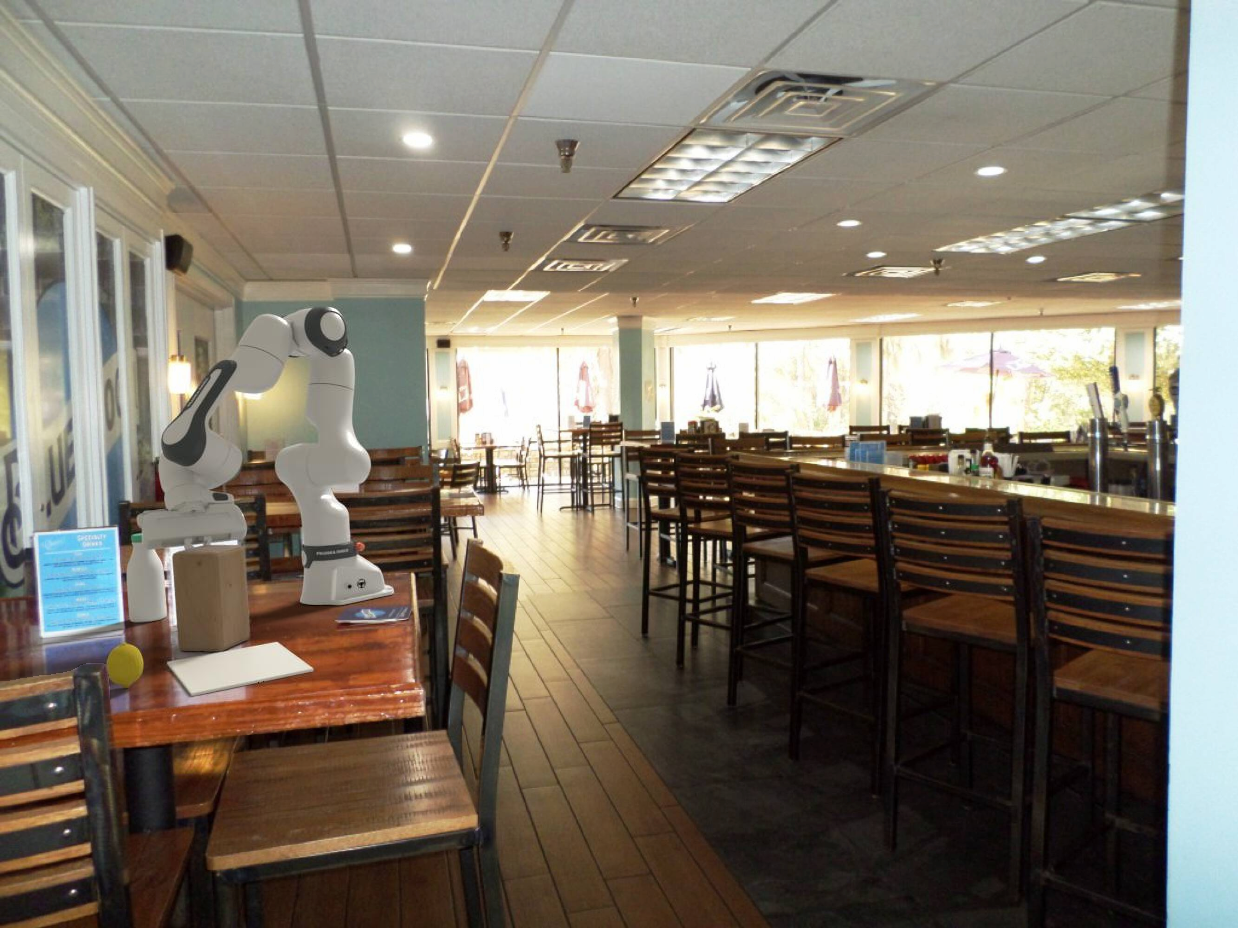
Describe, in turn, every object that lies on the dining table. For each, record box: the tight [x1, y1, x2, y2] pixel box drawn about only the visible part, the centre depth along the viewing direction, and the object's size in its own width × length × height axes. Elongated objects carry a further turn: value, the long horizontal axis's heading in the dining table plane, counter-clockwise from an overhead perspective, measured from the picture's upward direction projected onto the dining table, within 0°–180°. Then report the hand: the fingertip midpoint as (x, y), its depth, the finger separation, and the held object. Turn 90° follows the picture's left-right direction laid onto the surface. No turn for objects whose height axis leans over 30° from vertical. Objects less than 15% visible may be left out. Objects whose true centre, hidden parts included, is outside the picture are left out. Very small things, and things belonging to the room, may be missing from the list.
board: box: [166, 641, 314, 697], centre depth 160 cm, size 20×24×1 cm
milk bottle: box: [126, 532, 168, 623], centre depth 202 cm, size 8×8×20 cm
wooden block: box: [171, 544, 251, 653], centre depth 176 cm, size 10×10×20 cm
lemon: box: [106, 642, 144, 689], centre depth 150 cm, size 6×6×8 cm
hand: (201, 557), depth 182 cm, fingers closed
